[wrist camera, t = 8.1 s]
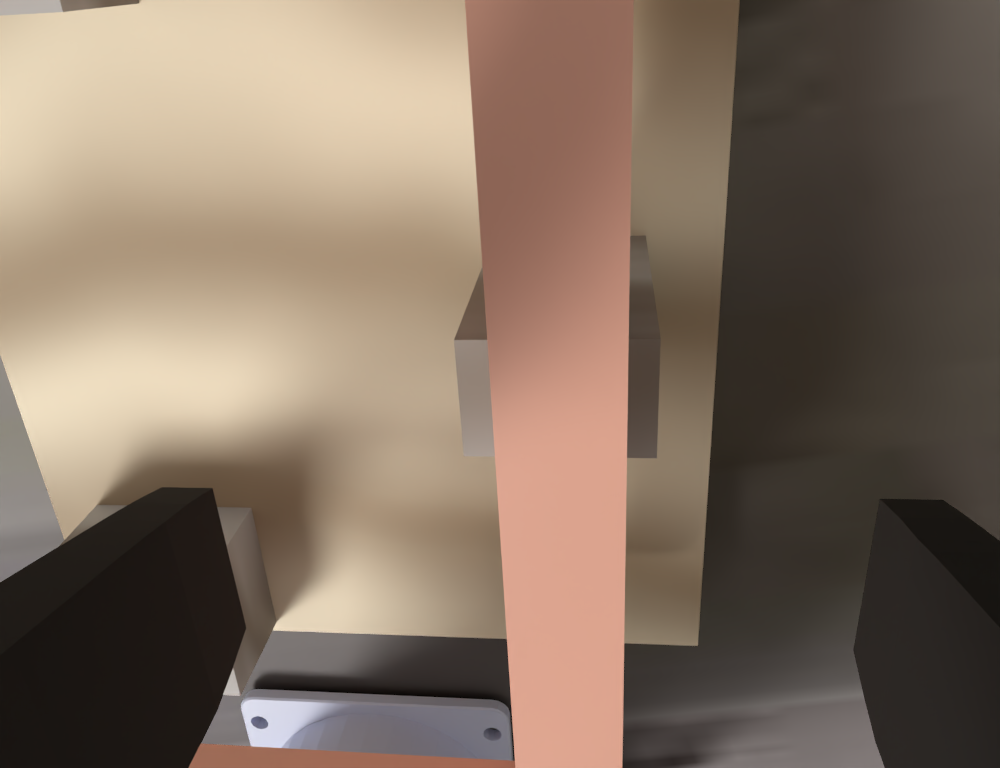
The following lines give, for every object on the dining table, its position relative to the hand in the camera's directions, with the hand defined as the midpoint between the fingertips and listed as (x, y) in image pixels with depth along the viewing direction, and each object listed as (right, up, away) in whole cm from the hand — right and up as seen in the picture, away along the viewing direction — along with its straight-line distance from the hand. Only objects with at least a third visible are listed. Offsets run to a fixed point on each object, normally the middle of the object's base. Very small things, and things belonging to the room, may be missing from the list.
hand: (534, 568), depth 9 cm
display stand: (-4, +5, +10) cm, 11 cm away
